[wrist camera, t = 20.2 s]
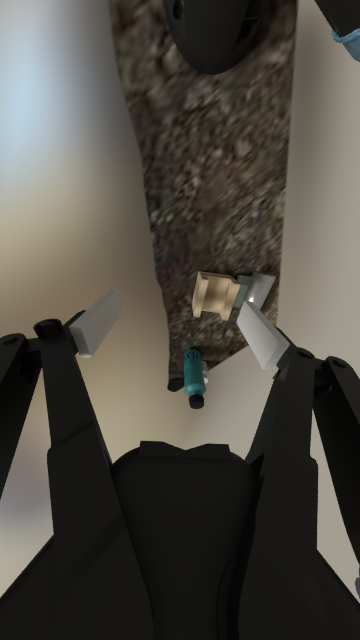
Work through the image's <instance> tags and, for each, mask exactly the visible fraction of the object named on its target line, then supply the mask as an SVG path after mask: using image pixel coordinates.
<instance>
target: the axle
mask: <svg viewBox="0 0 360 640" xmlns="http://www.w3.org/2000/svg"><path fill="white" fill-rule="evenodd" d="M275 278H276V276H274V275H272V274H269V273H265V272H260V271H254V272H253V274H252V277H251V279H250V282H249V284H248V287H247V289H246V292H245V294H244V297H243V299H242V302H241V304H240V307H239V309H238V312H237V314H236V317H235V319H234V322H235V324H237V319H238V316H239V314H240V311H241V308H242V306H243V303H244V301H252V303H253V304H254V305H255V306H256V307H257V308H258V309H259V310H260V309H261V307H262V305H263V303H264V301H265V299H266V297H267V295H268V293H269V291H270V288H271V286H272V284H273V282H274V280H275ZM237 325H238V324H237Z"/></svg>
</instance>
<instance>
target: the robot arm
mask: <svg viewBox="0 0 360 640" xmlns="http://www.w3.org/2000/svg"><path fill="white" fill-rule="evenodd" d="M270 1H271V0H163V4H164V9H165V14H166V18H167V22H168V26H169V29H170V32H171V35H172V37H173V40H174V42H175V44H176V46H177V48H178V50H179V51H180V53H181V55H182V56H183V57H184V59H185V60H186V61H187V62H188V63H189V64H190V65H191V66H192V67H193V68H195V69H196V70H198V71H200V72H203V73H207V74H216V73H220V72H223V71H225V70H227V69H229V68H230V67H232V66H233V65H234V64H235V63H237V62H238V61H239V60H240V59H241V57H242V56H243V55H244V54H245V52H246V51H247V50H248V48H249V47H250V45H251V44H252V42H253V40H254V38H255V36H256V34H257V32H258V30H259V28H260V26H261V23H262V21H263V18H264V16H265V14H266V11H267V9H268V6H269V3H270ZM315 2H316V3H317V5H318V7H319V8H320V10H321V11H322V13H323V15H324V16H325V18H326V20H327V21H328V23H329V25H330V26H331V28H332V37H333V39H334V40H335V41H336V42H339V43H342V44H343V45H344V46H345V48H346V49H347V50H348V52H349V53H350V55H351V56H352V57H353V58H354V59H355V60H356V61H359V62H360V0H315ZM120 314H121V307H120V300H119V292H118V289H112V288H110V289H109V290H108V291H107V292H106V293H105V294H104V295H103V296H102V297H101V298H99V299H98V300H97V301H96V302H95V303H94V304H93V305H92V306H91V307H90V308H89V309H88V310H83V311H81V312H78V313H77V314H76V315H75V316H74V317H72V318H71V319H70V320H69V321H68V322H66V323H65V324H64V325H63V326H62V323H61V321H60V320H58V319H47V320H43V321H41V322H38V323H37V324H35V325H34V327H33V329H34V330H35V332H36V334H37V336H38V338H33V339H27V338H26V337H25V335H23V334H20V333H16V334H9V335H6V336H4V337H2V338H0V499H1V496H2V492H3V489H4V486H5V483H6V479H7V476H8V473H9V470H10V467H11V463H12V460H13V457H14V454H15V451H16V448H17V444H18V441H19V438H20V435H21V432H22V428H23V425H24V422H25V419H26V415H27V413H28V409H29V406H30V403H31V400H32V396H33V393H34V390H35V387H36V384H37V380H38V377H39V374H40V371H41V368H43V377H44V385H45V394H46V403H47V411H48V420H49V428H50V437H51V448H50V449H49V450H48V453H47V465H48V476H49V487H50V497H51V509H52V520H53V531H54V534H53V536H52V537H51V538H50V539H49V540H48V542H47V543H46V544H45V545H44V546H43V548H42V549H41V550H40V551H39V552H38V554H37V555H36V556H35V557H34V558H33V560H32V561H31V562H30V563H29V564H28V565H27V567H26V568H25V569H24V570H23V571H22V573H21V574H20V575H19V576H18V577H17V579H16V580H15V581H14V582H13V583H12V585H11V586H10V587H9V588H8V589H7V590H6V592H5V593H4V594H3V595H2V596H1V598H0V640H360V603H359V602H358V601H357V599H356V598H355V597H354V596H353V595H352V593H351V592H350V591H349V589H348V588H347V587H346V586H345V584H344V583H343V582H342V580H341V579H340V578H339V577H338V575H337V574H336V573H335V572H334V570H333V569H332V568H331V566H330V565H329V564H328V563H327V561H326V560H325V559H324V558H323V556H322V555H321V554H320V553H319V551H318V550H317V510H318V508H317V507H318V464H317V462H316V460H315V459H313V458H312V457H311V456H310V441H311V425H312V408H313V411H314V414H315V418H316V422H317V426H318V429H319V433H320V437H321V441H322V444H323V448H324V452H325V455H326V459H327V463H328V467H329V470H330V474H331V478H332V482H333V485H334V489H335V493H336V497H337V500H338V504H339V508H340V511H341V515H342V518H343V522H344V525H345V528H346V531H347V534H348V537H349V540H350V542H351V545H352V548H353V550H354V553H355V556H356V558H357V560H358V563H359V565H360V379H359V377H358V376H357V374H356V373H355V371H354V370H353V368H352V367H351V366H350V365H349V364H348V363H347V362H345V361H344V360H342V359H339V358H337V357H333V356H329V357H327V358H326V360H325V361H324V360H320V359H317V358H315V357H314V355H313V354H312V353H311V352H309V351H307V350H305V349H303V348H299V347H296V346H295V345H294V344H293V343H292V342H291V340H290V339H289V338H288V337H287V336H286V335H285V334H284V333H283V332H282V331H281V330H280V329H279V328H277V327H276V326H273V325H272V324H271V322H270V321H269V320H268V319H267V318H266V317H265V316H264V315H263V314H262V312H261V311H260V310H259V309H258V308H257V307H256V306H255V305H254V304H253V303H252V301H244V303H243V306H242V308H241V311H240V314H239V316H238V319H237V324H238V326H239V328H240V329H241V331H242V333H243V335H244V337H245V338H246V340H247V342H248V344H249V345H250V347H251V349H252V351H253V352H254V354H255V356H256V358H257V359H258V361H259V363H260V365H261V366H262V369H264V370H273V369H274V367H275V366H276V365H277V367H278V368H279V370H278V371H277V373H276V374H275V376H274V377H273V379H274V382H273V385H272V387H271V391H270V393H269V396H268V399H267V402H266V405H265V408H264V411H263V413H262V416H261V420H260V422H259V425H258V428H257V431H256V434H255V437H254V440H253V442H252V445H251V449H250V451H249V453H248V455H247V456H246V458H245V460H243V459H242V458H241V457H239V456H238V455H236V454H234V453H232V452H230V449H229V445H228V444H204V445H201V446H198V447H195V448H191V449H188V450H183V449H180V448H178V447H175V446H173V445H170V444H167V443H165V442H159V441H141V442H140V447H138V448H135V449H133V450H131V451H129V452H127V453H125V454H124V455H123V456H121V457H120V458H119V459H118V460H117V461H115V463H112V461H111V458H110V455H109V452H108V450H107V447H106V444H105V442H104V439H103V436H102V433H101V430H100V427H99V424H98V421H97V418H96V415H95V412H94V409H93V407H92V404H91V401H90V398H89V395H88V392H87V389H86V386H85V383H84V380H83V377H82V374H81V371H80V369H79V366H78V363H77V360H76V357H75V355H76V354H77V352H79V355H80V357H87V358H91V357H92V356H93V354H94V353H95V351H96V350H97V348H98V347H99V345H100V343H101V342H102V341H103V339H104V338H105V336H106V335H107V333H108V332H109V330H110V329H111V327H112V326H113V324H114V323H115V321H116V320H117V318H118V317H119V315H120ZM359 576H360V567H359ZM355 586H356V590H357V593H358V595H359V598H360V577H359V578H356V581H355Z"/></svg>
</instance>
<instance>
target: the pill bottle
mask: <svg viewBox="0 0 360 640" xmlns="http://www.w3.org/2000/svg"><path fill="white" fill-rule="evenodd" d="M202 365H203V366H202V369H203V375H204V381H205V383H207V382H208V374H209V373H208V368H207V364H206V362H205V361H202Z"/></svg>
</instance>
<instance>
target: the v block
mask: <svg viewBox="0 0 360 640" xmlns="http://www.w3.org/2000/svg"><path fill="white" fill-rule="evenodd" d="M250 279H251V277H249V276H242V275H238V277H237V280H236V281H237V282H238V283H239V284H240V288H239V291H238V293H237V296H236V299H235V302H234V304H233V307H240V304H241V302H242V299H243V297H244V294H245V292H246V289H247V287H248V284H249V282H250Z"/></svg>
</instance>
